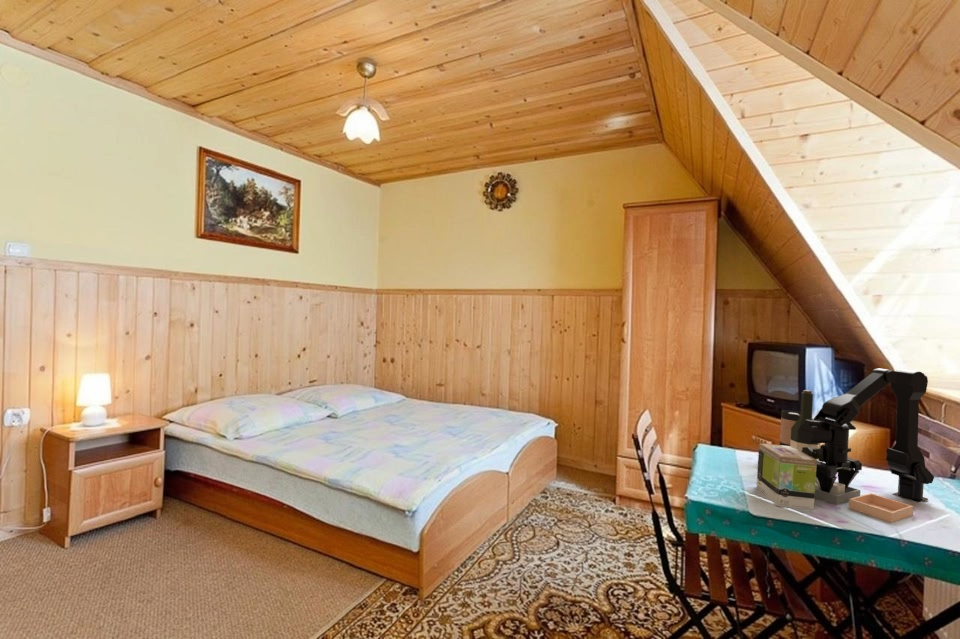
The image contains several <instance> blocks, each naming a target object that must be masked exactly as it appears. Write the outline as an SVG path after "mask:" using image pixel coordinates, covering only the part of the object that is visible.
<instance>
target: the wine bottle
mask: <svg viewBox="0 0 960 639" xmlns="http://www.w3.org/2000/svg"><path fill="white" fill-rule="evenodd" d="M800 399H801V400H800V411H799V412H800V418H799V419H798V420H797V421H796V423H795V424H794V425H793V426H792V427H791V442H790V446H792V447H794V448H796V449H798V450H799V451H801V450H802V448H803V447H811V448H812V449H815V448H820V443H805V442H804V441H802V440H801V438H800V436H799V429H800V426H801V425H802V424H805V420H811V421H814V420H813V419H814V418H813V407H814V393H813V391H812V390H808V389H804V390H802V392H801V397H800ZM801 452H802V451H801ZM816 460H817V461H819V459H816Z"/></svg>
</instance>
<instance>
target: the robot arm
mask: <svg viewBox="0 0 960 639" xmlns="http://www.w3.org/2000/svg"><path fill="white" fill-rule="evenodd" d="M928 382H929V379H928V376H927V375H926V374H924V373H923V372H921V371H916V370H908V369H903V368H902V369H899V368H898V369H895V370H891V369H887V368H874V369H873V370H872V371H871V372H870V374H869V375H868V376H865V378H864V379H862V380H861V381H860V382H859V383H857V384H856V385H855V386H853V387H852V388H851V389H850V390H848V391H847V392H846V393H844V394H842V395H839V396H835V397H832V398H830V399H828V400H827V401H825V402H824V403H823V405H821V408H820V409H819V411H818V412H817V414H816V415H815V416H814V417H813V418H812V419H813V420H814V421H811V420H805V424H802V425H801V426H800V429H799V436H800V438H801V440H802V441H804V442H805V443H819V444H821V445H819V448H815V449H812V448H811V447H803V448H802V450H801V451H802V452H803V453H805V454H807V455H809V456H810V457H812V458H814V459H819V460H818V461H817V467H816V477H817V479H818V481H819V484H820V487H821V490H822V491H825V492H828V493H830V491H831V489H832V487H833V484H834V482H836V480H838V483H841V484H844V485H845V490H846V489H847V487H848V486H849V485H850V484H851V483H852V481H853V480H854V479H855V478H856V476H857V475H858V474H859V473H860V471H862V470H863V463H862V462H861V461H860V460H859V459H855V458H851V457H849V455H848V454H849V453H851V452H852V448H851V447H849V440H850V439H849V438H850V431H851V430H852V431H853V430H854V431H855V430H857V427H856V426H854V425H853V424H852V423H851V422H853V420H854V419H855V418H857V416H858V415H859V414H860V408H861V407H862V406H863V405H864V404H865V403H866V402H867V401H869V400H870V399H872V398H873V397H874V396H875V395H876V394H878V393H880V391H881V390H883V389H884V388H885V387H887V385H889V384H890V389H891V390H892V392H893V394H894V395H895V397H896V418H895V419H896V421H895V423H896V424H895V426H896V427H895V428H896V429H895V443H894V445H892V447H891V448H890V447H888V448H887V449H886V459H885V461H886V462H887V466H888V467H889V470H890V473H891V474H892V475H896V476H898V483H897V484H898V486H897V492H894V493H892V495H893V496H896V497H900V498H903V499H906V500H910V501H913V502H915V503H916V502H917V503H921V502H922V503H923V502H926V501H929V498H927V497H925V496H924V488H925V486H924V485H929V484H933V481H934V479H935V476H934V475H933V473H931V471H930V470H929V469H928V468H927V467H926V461H925V456H924V454H923V453H922V452H921V450H920V448H919V444H918V442H919V412H920V409H919V408H920V407H919V405H920V404H919V403H920V399H922V398H923V396H924V395H925V394H926V393H927V389H928V384H929V383H928ZM849 487H850V486H849Z"/></svg>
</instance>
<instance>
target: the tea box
mask: <svg viewBox="0 0 960 639" xmlns="http://www.w3.org/2000/svg"><path fill="white" fill-rule="evenodd" d="M757 456H758V457H757V458H758V459H757V475H756V488H757V489H758V491H759V490H760V492H762V493H763V494H764V495H765V496H766V497H767V498H768V499H769V500H770V501H771V502H772V503H773V504H774V505H776V507H780V508H789V509H790V508H797V509H798V508H799V509H809V510H814V509H815V497H814V495H815V482H816V467H817V460H816V459H814V458H812V457H810V456H809V455H807V454H805V453H803V452H801V451H799V450H798V449H796V448H794V447H792V446H783V445H780V444H772V443H771V444H770V443H758V455H757Z"/></svg>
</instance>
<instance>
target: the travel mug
mask: <svg viewBox="0 0 960 639" xmlns="http://www.w3.org/2000/svg"><path fill="white" fill-rule="evenodd" d="M800 412H801V411H797V410H788V409H787V410H786V409H785V410H781V415H780V416H781V417H780V432H779V445H783V446H790V442H791V427H792V426H793V425H794V424H795V423H796V421H797V420H798V419H799V418H800Z"/></svg>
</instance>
